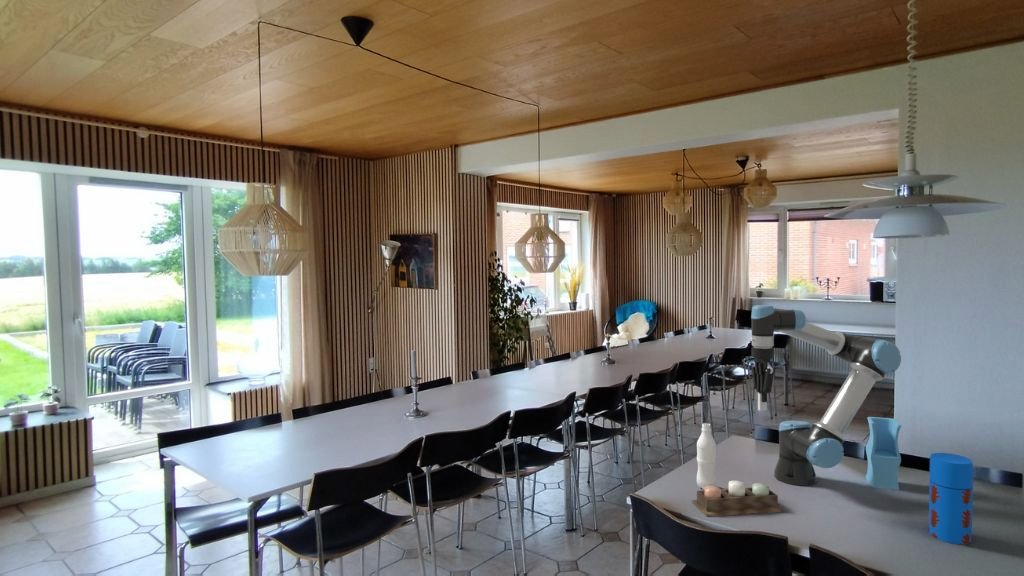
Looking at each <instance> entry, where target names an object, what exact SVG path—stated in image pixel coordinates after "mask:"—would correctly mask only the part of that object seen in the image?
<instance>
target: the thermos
mask: <svg viewBox="0 0 1024 576" xmlns="http://www.w3.org/2000/svg"><path fill="white" fill-rule="evenodd" d="M973 485H974V464H973V460H972V459H970V458H968V457H966V456H962V455H959V454H954V453H948V452H946V453H945V452H934V453H930V457H929V489H928V490H929V491H928V492H929V494H928V496H929V497H928V499H929V500H928V526H929V528H928V529H929V534H930V536H931V537H933V538H935V539H937V540H940V541H942V542H945V543H949V544H954V545H967V544H970V543H971V542H972V535H973V533H972V532H973V492H974V491H973V490H974V486H973Z"/></svg>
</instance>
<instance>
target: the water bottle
mask: <svg viewBox="0 0 1024 576" xmlns="http://www.w3.org/2000/svg"><path fill="white" fill-rule="evenodd" d="M701 426H702V427H701V434H700V436H699V438H698V439H697V441H696V453H697V454H696V461H697V473H696V484H697V486H698V487H699V489H701V488H702V489H701V490H705V487H706V486H716V485H717V476H716V463H717V444H716V441H715V438H714V437H713V436H712V428H711V424H710V423H708V422H704V423H702V425H701ZM716 487H717V486H716Z"/></svg>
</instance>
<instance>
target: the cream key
mask: <svg viewBox="0 0 1024 576" xmlns="http://www.w3.org/2000/svg"><path fill="white" fill-rule="evenodd" d="M745 488H746V483H745V482H744V481H740V480H730V481H728V489H729V495H730V496H732V497H745Z"/></svg>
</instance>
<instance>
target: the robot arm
mask: <svg viewBox="0 0 1024 576" xmlns="http://www.w3.org/2000/svg"><path fill="white" fill-rule="evenodd" d="M750 318H751V338H750V340H751V346H752V347H751V357H752V358H754V361H753V362H750V368H751V373H752V380H753V388H754V390H756V392H757V410H758V411H759V412H760V411H761V412H763V411H768V394H769V393H771V392H772V386H773V382H774V376H775V375H774V374H775V372H776V368H774V367H772V362H771V359H773V358H774V356H775V355H774V354H775V353H774V351H775V350H774V349H775V348H773V347H774V346H775V344H774V342H775V341H774V339H775V337H774V336H775V334H774V333H775V331H777V332H780V333H782V334H785V335H787V336H790V337H792V338H795V339H797V340H800V341H802V342H805V343H807V344H810V345H814V346H816V347H818V348H820V349H823V350H826V352H827V353H828V354H829V355H831V356H835V357H836V358H839V359H841V360H843V361H845V362H848V363H849V364H850V367H851V371H850V372H849V374H848V375H847V377H846V378H845V381H844V382H843V383H842V385H841V387H840V389H839V390H838V392H837V393H836V395H835V396H834V398H833V399H832V401H831V403H830V405H829V406H828V408H827V409H826V411H825V413H824V414H823V416H822V417H821V419H820V420H819V421H817V422H813V424H812V423H811V422H809V421H802V420H786V421H785V420H783V421H782V422H779V427H778V460H777V463H776V465H775V468H774V470H773V471H774V472H773V473H774V474H773V475H774V478H775V479H776V480H778V481H780V482H783V483H786V484H789V485H796V486H811V485H814V484H816V483H817V474H816V472H815V468H814V466H816V467H819V468H823V469H830V468H834V467H835V466H837V465H839V464H841V463H840V462H841V461H842V460H843V458H844V456H845V452H844V449H845V448H844V446H843V444H844V443H845V438H844V436H843V435H844V433H845V432H846V430H847V428H848V427H849V425H850V424H851V422H852V420H853V419H854V418H855V416H856V414H857V412H858V411H859V409H860V408H861V406H862V404H863V403H864V401H865V399H866V397H867V396H868V394H869V393H870V391H872V388H873V386H874V385H875V383H876V382H878V381H879V382H880V381H882V380H883V379H884V377H886V375H887V374H891V373H894V372H896V371H897V370H898V369H899V367H900V366H901V362H902V355H901V352H900V349H899V348H898V346H897V345H896V344H894V343H893V342H891V341H887V340H885V339H879V338H872V337H871V338H870V337H866V336H859V335H854V334H853V335H851V334H846V333H843V332H841V331H834V332H833V331H831V330H828V329H826V328H824V327H821V326H819V325H815V324H813V323H810V322H808V321H807V320H806V319H807V317H806V314H805V312H804V311H802V310H801V309H794V308H793V309H784V308H775V307H774V306H773V305H771V304H769V305H768V304H756V305H753V306H752V308H751V315H750Z"/></svg>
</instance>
